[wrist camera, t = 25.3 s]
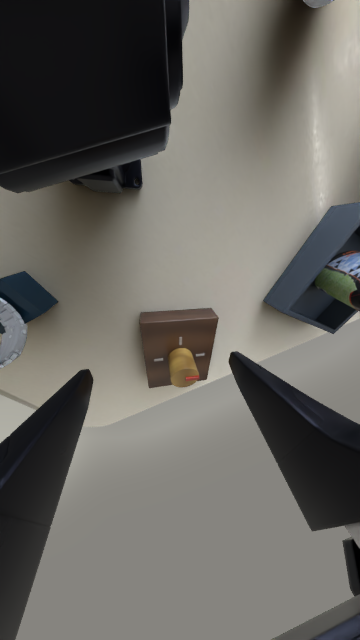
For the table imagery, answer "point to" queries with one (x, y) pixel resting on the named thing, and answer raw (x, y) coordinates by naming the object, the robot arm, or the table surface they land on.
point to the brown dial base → (177, 340)
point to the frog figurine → (317, 3)
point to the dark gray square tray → (318, 271)
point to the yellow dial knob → (182, 368)
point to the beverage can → (342, 278)
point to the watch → (19, 312)
